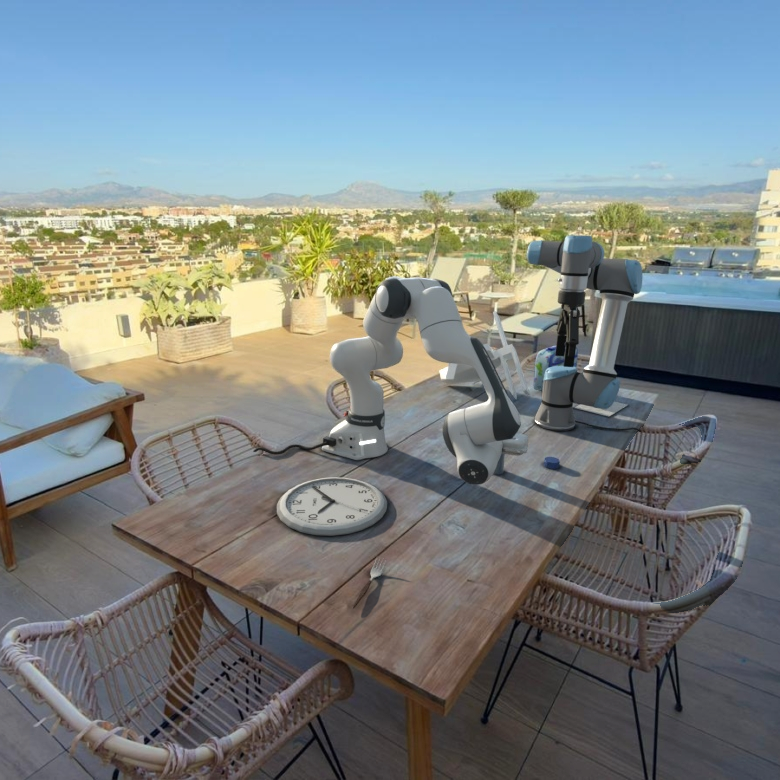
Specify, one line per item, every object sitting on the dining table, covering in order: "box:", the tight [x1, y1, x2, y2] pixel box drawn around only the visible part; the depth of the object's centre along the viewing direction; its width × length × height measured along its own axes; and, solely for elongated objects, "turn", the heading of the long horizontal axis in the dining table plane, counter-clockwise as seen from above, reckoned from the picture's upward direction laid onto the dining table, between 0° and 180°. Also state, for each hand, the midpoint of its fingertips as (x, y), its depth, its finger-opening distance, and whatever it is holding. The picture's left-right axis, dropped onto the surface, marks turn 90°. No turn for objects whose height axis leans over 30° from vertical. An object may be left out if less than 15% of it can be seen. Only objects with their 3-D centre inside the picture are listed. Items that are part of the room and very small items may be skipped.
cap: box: [543, 456, 560, 470], centre depth 169 cm, size 5×5×2 cm
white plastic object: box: [438, 310, 531, 400], centre depth 245 cm, size 37×45×31 cm
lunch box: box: [533, 345, 579, 392], centre depth 247 cm, size 26×11×21 cm, turn 134°
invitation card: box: [573, 401, 629, 418], centre depth 226 cm, size 21×1×15 cm
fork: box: [352, 555, 387, 609], centre depth 110 cm, size 3×16×2 cm, turn 160°
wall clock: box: [276, 476, 388, 537], centre depth 142 cm, size 30×2×30 cm
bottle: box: [493, 454, 506, 476], centre depth 161 cm, size 5×5×22 cm
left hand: (493, 429), depth 148 cm, fingers open, 8 cm apart
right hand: (563, 361), depth 159 cm, fingers open, 13 cm apart
